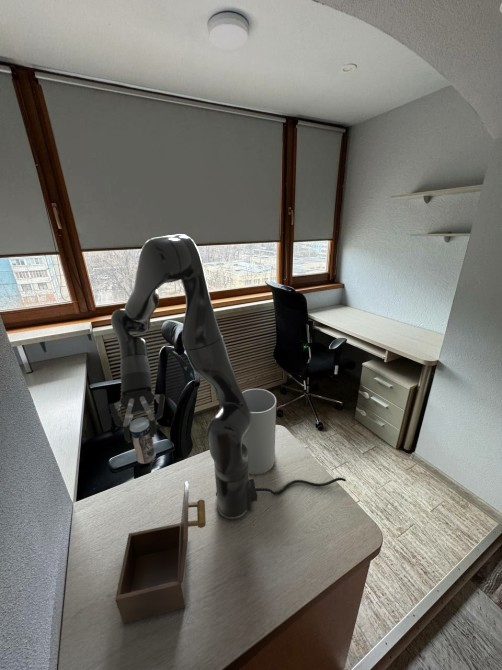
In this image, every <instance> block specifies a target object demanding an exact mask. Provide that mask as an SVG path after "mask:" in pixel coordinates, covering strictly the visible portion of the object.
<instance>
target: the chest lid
mask: <svg viewBox="0 0 502 670" xmlns="http://www.w3.org/2000/svg"><path fill="white" fill-rule="evenodd" d="M189 485H190V481H185V482H184V489H183V498H182V506H181V507H182V508H181V517H180V523H181V535H180V562H179V583H182V582H183V576H184V568H185V560H186V561H187V551H188V544H189V543H188V542H189V527H198V528H200V529H202V528H205V527H206V525H207V523H206V522H207V521H206V502H205V500H204V499H199V500H197V501H193V502H189V496H190V495H189V488H190V486H189ZM189 508H196V511H197V512H196V513H197V515H196V517H197V518H196V519H197V520H196V519H195V520H189Z"/></svg>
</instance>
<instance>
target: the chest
mask: <svg viewBox="0 0 502 670" xmlns="http://www.w3.org/2000/svg"><path fill="white" fill-rule="evenodd" d="M180 535H181V522H179V523H178V522H177V523H173V524H168V525H163V526H158V527H153V528H149V529H144V530H138V531H135V532H130V533H128V535H127V539H126V540H127V541H126V544H125V545H126V546H125V550H124V555H123V559H122V564H121V569H120V575H119V579H118V584H117V588H116V594H115V599H114V601H115V604H116V606H117V610H118V612H119V615H120V618H121V620H122V623H123V624H126V623H131V622H134V621H135V622H136V621H138V620H143V619H146V618H149V617H153V616H157V615H161V614H164V613H165V614H166V613H169V612H172V611H176V610H180V609H184V608H186V599H187V598H186V597H187V596H186V590H187V589H186V587H187V559H186V560H185V568H184V576H183V582H182V583H179V562H180Z"/></svg>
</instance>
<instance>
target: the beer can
mask: <svg viewBox="0 0 502 670" xmlns="http://www.w3.org/2000/svg"><path fill="white" fill-rule="evenodd" d="M149 422H150V420H149V419H147V418H146V417H144V416H142V417H141V416H140V417H137V418H135V419H134V418H133V419H132V420H131V424H130V432H131V436H132V443H133V447H134V452H135V456H136V461H137V463H139V464H141V465H142V464H143V465H145V464H149V463H150V462H153V460H154V459H155V458H156V456H157V453H156V450H155V449H156V448H155V444H154V439H153V437H152V438H151V435H150V425H149Z"/></svg>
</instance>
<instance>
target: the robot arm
mask: <svg viewBox="0 0 502 670" xmlns="http://www.w3.org/2000/svg"><path fill="white" fill-rule="evenodd" d="M204 270H205V269H204V266H203V262H202V257H201V255H200V251H199V249H198V247H197V244H196V243H195V241H194V240H193V239H192V238H191V237H190V236H189V235H187V234H184V233H183V234H181V233H179V234H178V233H177V234H172V235H165V236H164V235H163V236H158V237H153V238H150V239H148V240H147V241H146V242H144V244H143V246H142V247H141V250H140V253H139V257H138V263H137V268H136V273H135V279H134V285H133V289H132V291H131V292H130V293H131V294H130V295H129V297H128V299H127V301H126V303H125V306H124V308H119V309H115V310H114V311H113V312H112V314H111V318H110V323H111V327H112V330H113V332H114V335H115V337H116V339H117V342H118V346H119V353H120V355H119V356H120V365H119V366H120V369H119V370H120V371H119V372H120V383H121V384H120V386H121V387H120V388H121V397H120V400H118V401H117V402H114V403H113V402H112V403H111V402H110V403H109V404H108V407H109V408H108V409H109V410H110V413H111V416H112V419H113V422H114V425H115V426H116V427H121V428H123V436H124V437H123V438H124V441H125V442H126V441H127V443H129V444H130V443H133V440H132V436H131V432H130V425H131V422H132V421H133V419H134V414H137V413H143V412H145V413H146V415H147V416H148V420H149V425H150V435H151V438H152V439H153V438H155V435H157V433H158V430H157V421H158V420H159V419H162V418H163V414H164V408H165V400H166V397H165V394H164V393H161V394H155V393H154V392H153V383H152V375H151V374H152V373H151V372H152V371H151V365H150V361H149V354H148V346H147V345H148V344H147V342H146V340H145V339H144V338H141V337H138V336H136V334H137V335H142V334H146V333H147V332H149V330H150V328H151V319H152V316H153V314H154V312H155V311H156V310H157V308H158V306H159V303H160V295H159V291H158V289H159V288H161V287H162V286H163V285H164V284H169V283H170V284H171V283H174V282H177V281H181V284H182V287H183V292H184V297H185V312H184V318H183V325H182V331H181V342H182V346H183V349H184V352H185V354H186V357H187V360H188V362H189V365H190V367H191V368H192V371H194V372H195V373H196V374H197V376H199V377H200V378H202V379H203V380H204V381H205V382H207V384H209V385H210V386H211V387H212V389H213V390H214V392H215V395H216V397H217V401H218V404H219V409H218V410H217V412H215V414H214V415H213V417H212V418H211V419H210V420H209V421H208V424H207V427H206V435H207V442H208V449H209V453H210V456H211V458H212V460H213V466H214V476H215V477H214V478H215V489H216V490H215V491H216V492H215V497H216V505H217V506H216V507H217V510H218V513H219V514H220V516H221V517H223V518H225V519H227V520H239V519H241V518H242V517H244V516H245V515H246V514H247V513H248V512H251V510H252V503H254V502H257V501H258V493H257V492H265V493H266V492H267V493H270V494H271V495H273V496H278V495H281V494H282V493H283V492H284V491H286V489H288V488H289V487H290V486H292V485H294V484H305V485H308V486H312V487H326V486H329V485H331V484H334V483H335V482H338V481H342V482H346V481H347V479H345V478H344V477H336V478H333V479H331V480H329V481H326V482H322V483H315V482H312V481H308V480H304V479H294V480H291V481H289V482H287V484H285V485H284V486H283V487H282V488H281V489H279V490H278V491H273V490H272V489H270V488H265V487H256V484H255V479H254V478H250V473H249V466H248V450H247V448H246V446H245V445H244V444H243V443H242V440H243V439H244V437H245V435H246V434H247V432H248V430H249V428H250V426H251V423H252V416H251V412H250V409H249V407H248V405H247V403H246V400H245V398H244V396H243V394H242V392H243V391H242V390H241V387H240V385H239V383H238V380H237V376H236V374H235V370H234V368H233V365H232V362H231V359H230V356H229V353H228V349H227V346H226V342H225V340H224V337H223V334H222V331H221V329H220V326H219V323H218V320H217V317H216V313H215V310H214V306H213V303H212V300H211V296H210V293H209V292H210V291H209V288H208V283H207V279H206V275H205V271H204ZM134 335H135V336H134ZM154 400H155V402H156V403H157V410H156V411H157V412H156V413H155V414H154V412H153V410H152V408H151V405H153V402H154ZM121 406H122V407H124V409H126V411H125V415H124V420H122V418H121V415H120V412H119V411H120V410H121Z"/></svg>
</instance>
